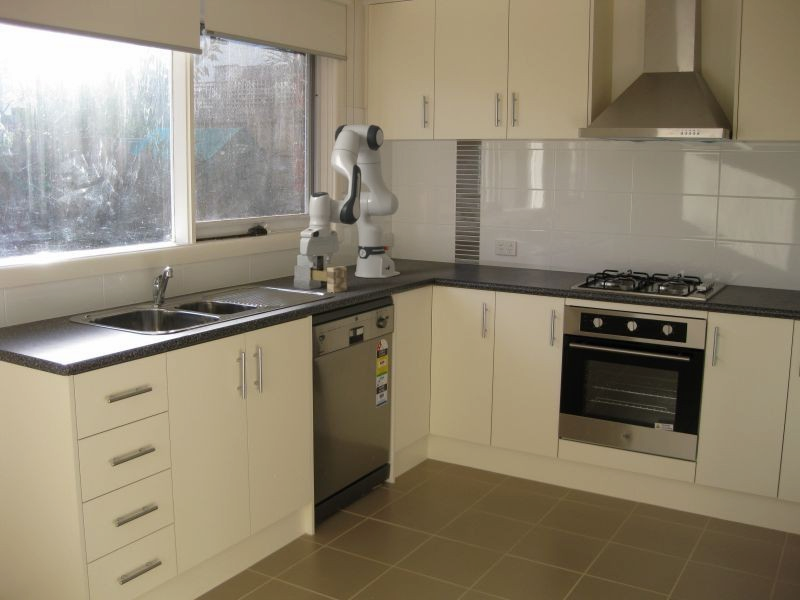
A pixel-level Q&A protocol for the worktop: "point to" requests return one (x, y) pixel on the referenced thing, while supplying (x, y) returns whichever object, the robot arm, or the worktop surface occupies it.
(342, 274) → the beech socket block
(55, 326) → the worktop surface
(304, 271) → the aluminium sleeve
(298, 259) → the supplement box
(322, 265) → the brass slip tube
